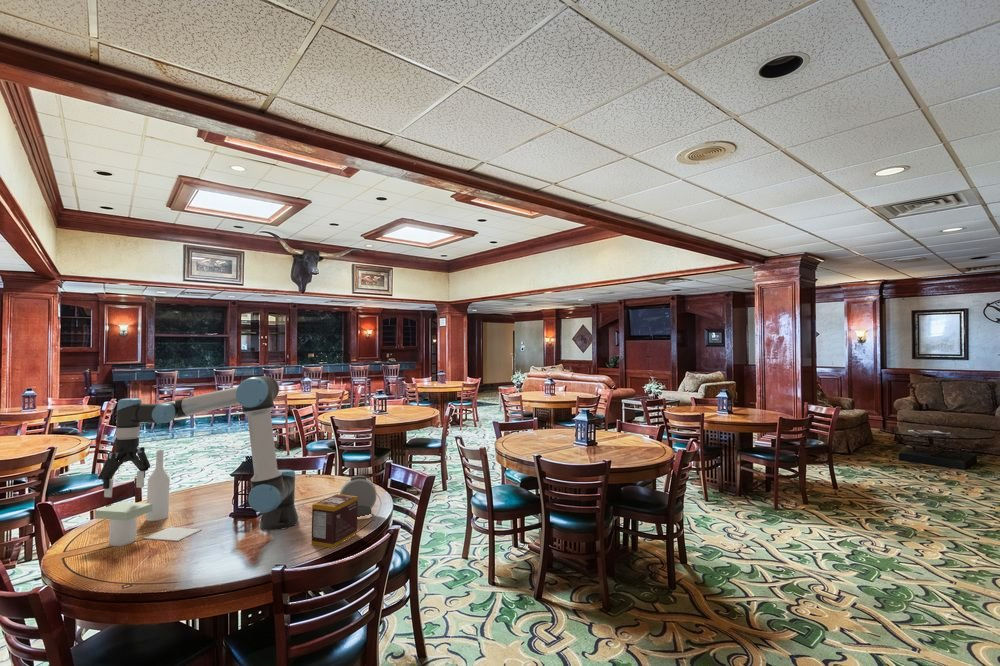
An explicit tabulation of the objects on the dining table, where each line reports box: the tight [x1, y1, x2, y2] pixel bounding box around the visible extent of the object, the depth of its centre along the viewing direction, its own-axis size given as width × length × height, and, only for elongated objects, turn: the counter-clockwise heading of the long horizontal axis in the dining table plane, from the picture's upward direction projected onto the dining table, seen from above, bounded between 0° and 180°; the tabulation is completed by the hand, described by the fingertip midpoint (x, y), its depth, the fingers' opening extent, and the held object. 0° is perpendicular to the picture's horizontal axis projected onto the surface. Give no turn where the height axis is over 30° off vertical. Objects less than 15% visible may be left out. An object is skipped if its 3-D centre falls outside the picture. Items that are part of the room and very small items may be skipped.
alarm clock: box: [339, 474, 378, 517], centre depth 218 cm, size 16×10×18 cm, turn 108°
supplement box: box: [311, 493, 358, 549], centre depth 191 cm, size 10×15×16 cm
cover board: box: [94, 501, 152, 520], centre depth 188 cm, size 14×11×3 cm
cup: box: [108, 517, 138, 547], centre depth 188 cm, size 8×12×10 cm
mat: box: [144, 526, 202, 542], centre depth 194 cm, size 15×12×1 cm
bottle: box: [145, 449, 171, 522], centre depth 214 cm, size 8×8×30 cm
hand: (124, 492), depth 188 cm, fingers open, 13 cm apart
